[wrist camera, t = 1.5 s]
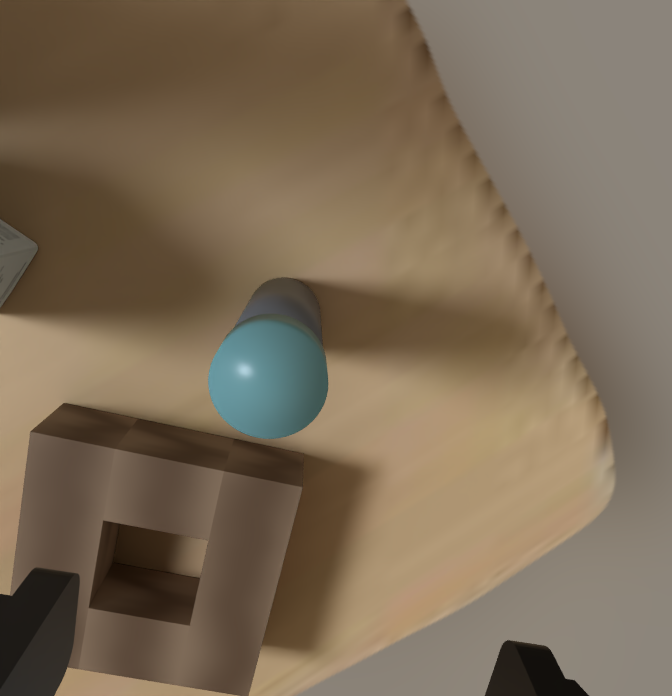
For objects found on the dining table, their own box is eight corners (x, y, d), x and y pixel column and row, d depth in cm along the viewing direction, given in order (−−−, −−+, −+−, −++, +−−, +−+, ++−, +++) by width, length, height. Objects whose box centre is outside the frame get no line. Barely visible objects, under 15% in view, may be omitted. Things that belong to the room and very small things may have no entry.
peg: (239, 340, 32) (198, 425, 20) (254, 267, 31) (221, 313, 19) (312, 357, 32) (312, 449, 21) (329, 286, 31) (340, 341, 20)
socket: (35, 606, 36) (2, 656, 32) (63, 403, 33) (30, 431, 29) (254, 644, 37) (248, 697, 34) (303, 453, 34) (302, 487, 30)
